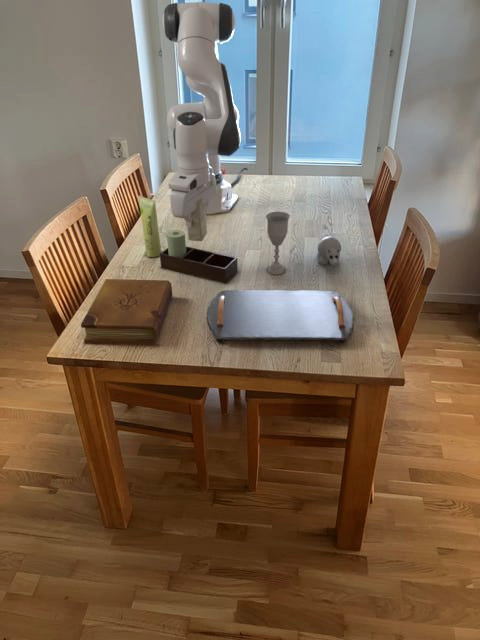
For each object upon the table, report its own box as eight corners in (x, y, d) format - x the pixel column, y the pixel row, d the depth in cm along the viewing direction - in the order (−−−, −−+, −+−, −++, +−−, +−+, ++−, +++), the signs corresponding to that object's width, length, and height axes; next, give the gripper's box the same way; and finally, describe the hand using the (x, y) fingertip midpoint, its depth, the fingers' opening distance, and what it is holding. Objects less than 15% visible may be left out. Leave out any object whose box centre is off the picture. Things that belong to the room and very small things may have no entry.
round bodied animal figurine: (321, 275, 160) (323, 250, 155) (314, 257, 170) (316, 233, 165) (344, 274, 160) (347, 249, 156) (336, 256, 170) (339, 232, 165)
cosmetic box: (202, 242, 155) (199, 203, 148) (187, 240, 155) (184, 202, 149) (207, 232, 160) (205, 194, 153) (193, 231, 160) (190, 193, 154)
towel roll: (175, 259, 170) (172, 228, 163) (190, 263, 167) (188, 231, 161) (166, 267, 165) (163, 235, 159) (181, 270, 163) (178, 238, 157)
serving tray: (203, 347, 131) (202, 326, 127) (210, 298, 150) (209, 279, 146) (359, 348, 130) (362, 327, 126) (345, 298, 149) (348, 279, 145)
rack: (174, 257, 171) (173, 243, 168) (237, 271, 162) (237, 257, 160) (161, 268, 165) (159, 253, 162) (225, 283, 156) (225, 269, 154)
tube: (143, 258, 171) (136, 201, 160) (145, 250, 175) (138, 195, 164) (161, 257, 171) (154, 200, 160) (162, 250, 175) (156, 194, 164)
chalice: (276, 262, 167) (277, 209, 157) (292, 269, 163) (294, 215, 153) (260, 270, 163) (260, 216, 153) (276, 278, 159) (278, 223, 149)
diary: (157, 345, 132) (155, 326, 128) (84, 343, 133) (80, 324, 129) (172, 297, 151) (170, 279, 147) (108, 295, 152) (105, 278, 148)
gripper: (202, 162, 156) (204, 206, 163) (164, 184, 140) (169, 232, 148) (221, 165, 153) (222, 210, 161) (184, 188, 138) (188, 236, 146)
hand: (196, 220), depth 155 cm, fingers closed on cosmetic box, 6 cm apart
